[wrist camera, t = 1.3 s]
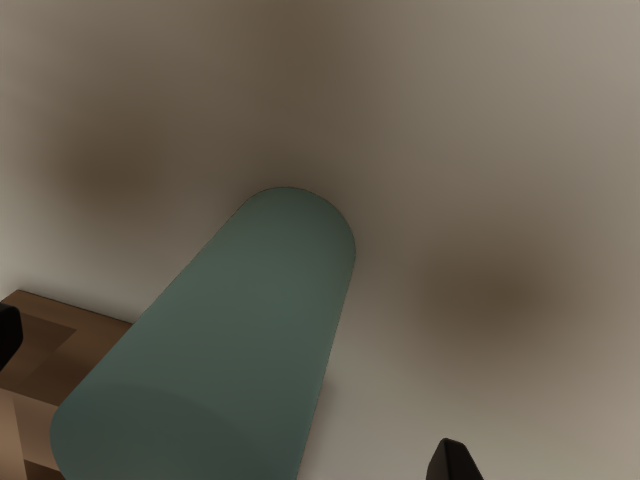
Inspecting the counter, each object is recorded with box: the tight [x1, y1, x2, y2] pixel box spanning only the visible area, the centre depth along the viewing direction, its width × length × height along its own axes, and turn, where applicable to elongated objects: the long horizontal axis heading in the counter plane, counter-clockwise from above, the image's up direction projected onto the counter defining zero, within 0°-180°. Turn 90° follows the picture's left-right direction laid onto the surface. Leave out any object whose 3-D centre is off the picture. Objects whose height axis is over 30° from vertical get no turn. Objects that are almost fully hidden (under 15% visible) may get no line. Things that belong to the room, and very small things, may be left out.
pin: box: [49, 187, 356, 480], centre depth 11 cm, size 4×4×8 cm
